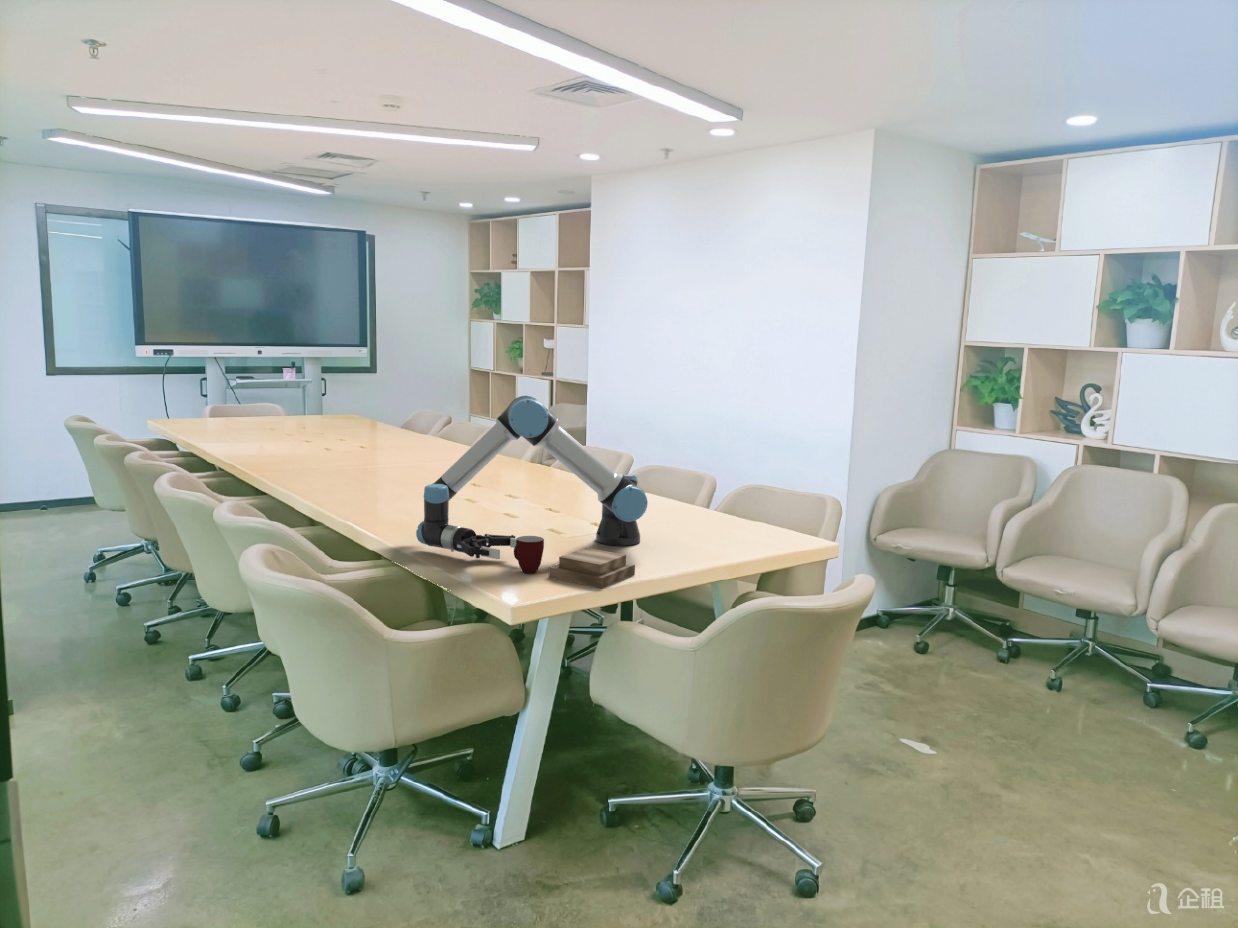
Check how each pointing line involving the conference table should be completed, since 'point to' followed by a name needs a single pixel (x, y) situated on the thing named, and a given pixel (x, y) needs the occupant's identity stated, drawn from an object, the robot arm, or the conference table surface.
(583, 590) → the conference table surface
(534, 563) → the mug
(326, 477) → the conference table surface
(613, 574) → the stand
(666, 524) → the conference table surface
